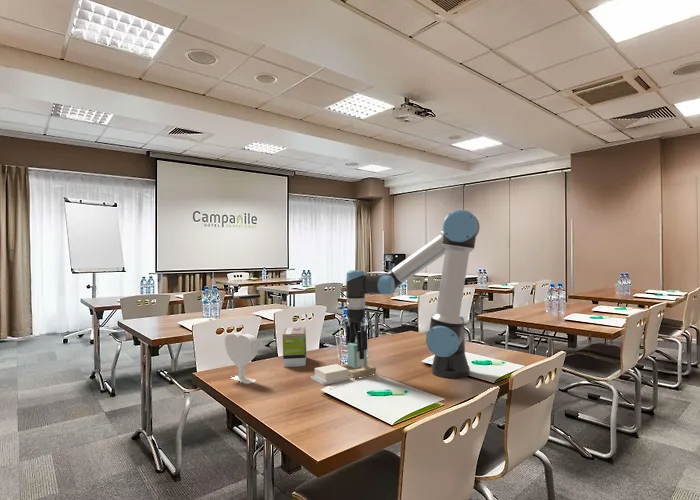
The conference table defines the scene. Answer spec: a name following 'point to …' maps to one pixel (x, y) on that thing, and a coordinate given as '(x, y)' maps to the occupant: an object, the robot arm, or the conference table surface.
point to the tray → (360, 371)
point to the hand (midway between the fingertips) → (356, 365)
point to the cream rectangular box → (330, 374)
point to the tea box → (294, 347)
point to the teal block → (354, 355)
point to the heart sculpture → (241, 352)
